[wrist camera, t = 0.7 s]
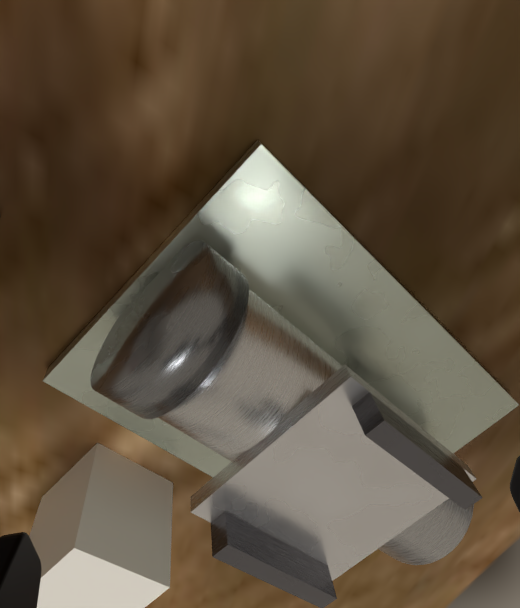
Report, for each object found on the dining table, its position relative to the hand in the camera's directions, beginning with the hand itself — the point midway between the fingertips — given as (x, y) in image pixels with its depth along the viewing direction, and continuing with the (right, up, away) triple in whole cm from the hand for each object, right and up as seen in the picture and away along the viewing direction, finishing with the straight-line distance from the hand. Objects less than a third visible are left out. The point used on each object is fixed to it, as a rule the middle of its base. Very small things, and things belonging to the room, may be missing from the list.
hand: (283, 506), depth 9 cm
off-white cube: (-9, -7, +18) cm, 21 cm away
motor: (+2, 0, +16) cm, 16 cm away
